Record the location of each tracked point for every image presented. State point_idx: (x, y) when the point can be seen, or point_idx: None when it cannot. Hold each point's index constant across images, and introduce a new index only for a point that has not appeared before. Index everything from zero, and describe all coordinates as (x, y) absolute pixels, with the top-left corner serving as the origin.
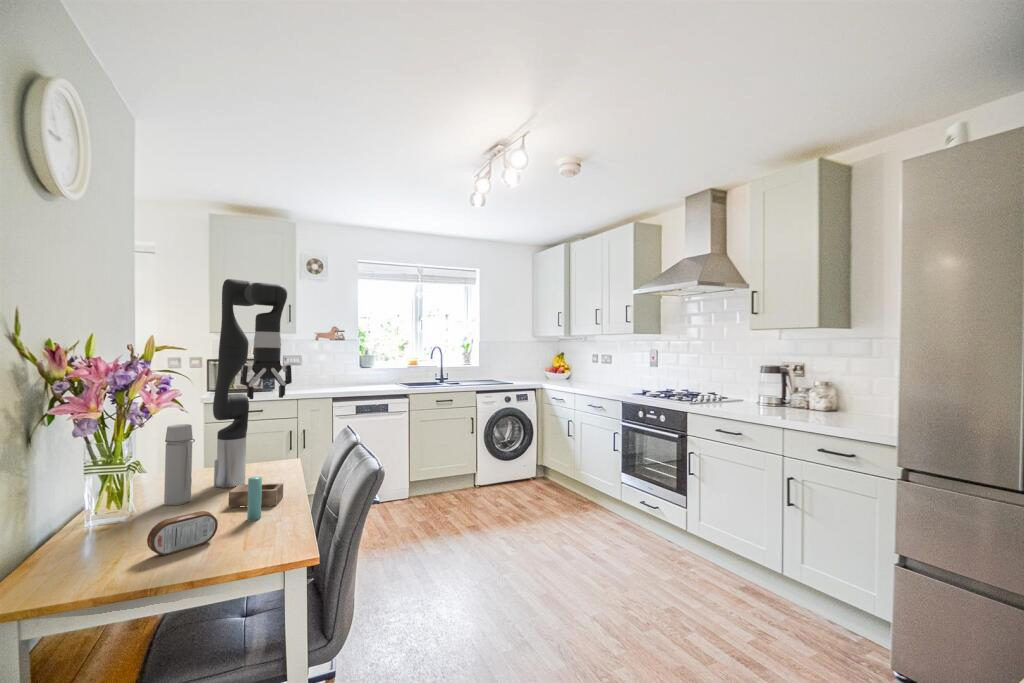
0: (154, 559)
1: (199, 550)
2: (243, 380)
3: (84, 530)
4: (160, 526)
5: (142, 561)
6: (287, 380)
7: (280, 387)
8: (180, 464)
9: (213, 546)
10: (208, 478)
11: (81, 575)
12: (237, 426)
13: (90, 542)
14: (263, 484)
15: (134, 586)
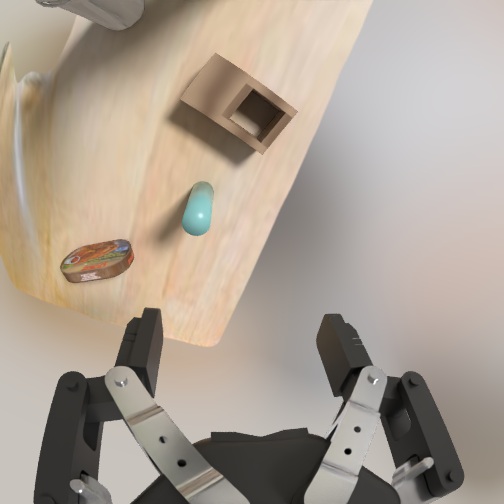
0: None
1: None
2: (83, 430)
3: (13, 97)
4: (67, 279)
5: None
6: (383, 418)
7: (335, 383)
8: (86, 13)
9: (133, 264)
10: None
11: (31, 254)
12: None
13: (18, 154)
14: (260, 88)
15: (74, 306)
